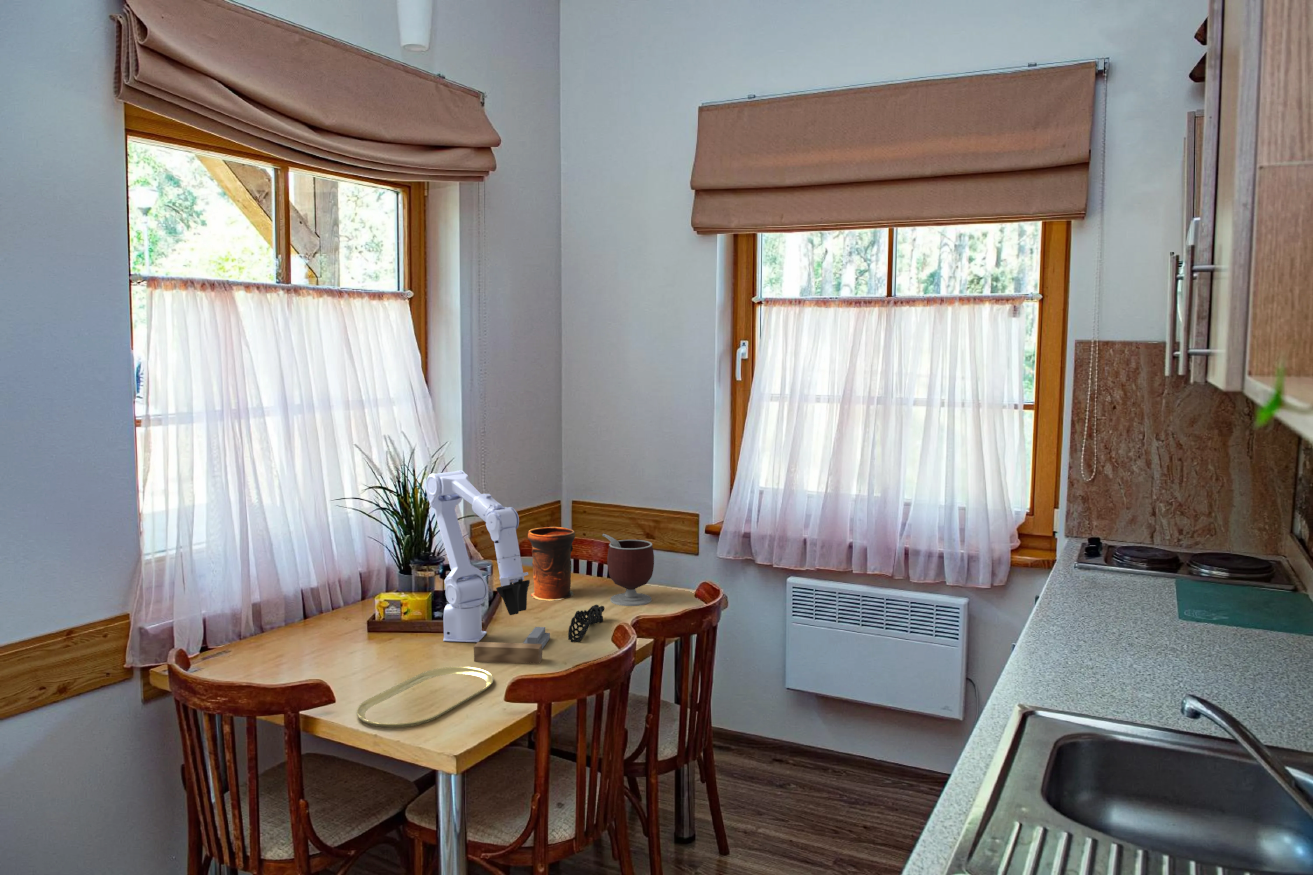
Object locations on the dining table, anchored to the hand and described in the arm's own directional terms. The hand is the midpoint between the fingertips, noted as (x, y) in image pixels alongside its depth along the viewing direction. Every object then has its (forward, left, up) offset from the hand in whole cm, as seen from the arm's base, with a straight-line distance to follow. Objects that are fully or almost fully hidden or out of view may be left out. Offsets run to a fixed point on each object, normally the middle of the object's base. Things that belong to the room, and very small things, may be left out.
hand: (518, 612), depth 233 cm
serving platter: (-13, -28, -12) cm, 33 cm away
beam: (-2, -2, -12) cm, 12 cm away
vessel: (-4, +58, -12) cm, 59 cm away
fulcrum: (+2, +11, -11) cm, 16 cm away
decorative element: (+13, +24, -12) cm, 30 cm away
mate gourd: (+20, +54, -12) cm, 59 cm away
